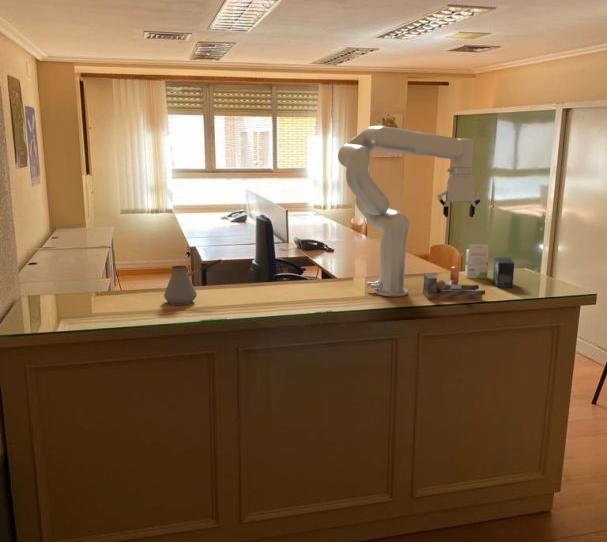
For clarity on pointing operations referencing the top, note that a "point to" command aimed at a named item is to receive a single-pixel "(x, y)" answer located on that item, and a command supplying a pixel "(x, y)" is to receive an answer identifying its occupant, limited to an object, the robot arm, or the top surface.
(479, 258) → the ink box
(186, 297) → the coffee pot
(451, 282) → the ram
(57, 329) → the top surface
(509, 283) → the small box
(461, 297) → the press bench
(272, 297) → the top surface
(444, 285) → the walnut
